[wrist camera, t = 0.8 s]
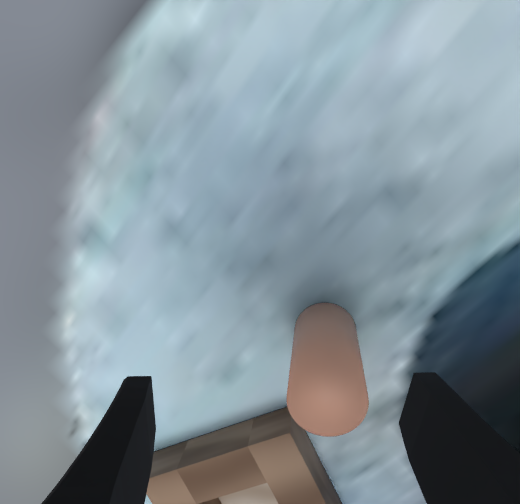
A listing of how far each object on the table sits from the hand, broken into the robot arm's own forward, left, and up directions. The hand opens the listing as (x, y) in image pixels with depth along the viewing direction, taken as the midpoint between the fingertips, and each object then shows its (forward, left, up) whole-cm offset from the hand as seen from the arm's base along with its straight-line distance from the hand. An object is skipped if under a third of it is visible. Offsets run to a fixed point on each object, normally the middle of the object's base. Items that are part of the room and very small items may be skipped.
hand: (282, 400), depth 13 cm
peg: (-6, +1, -17) cm, 18 cm away
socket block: (-16, +11, -17) cm, 26 cm away
